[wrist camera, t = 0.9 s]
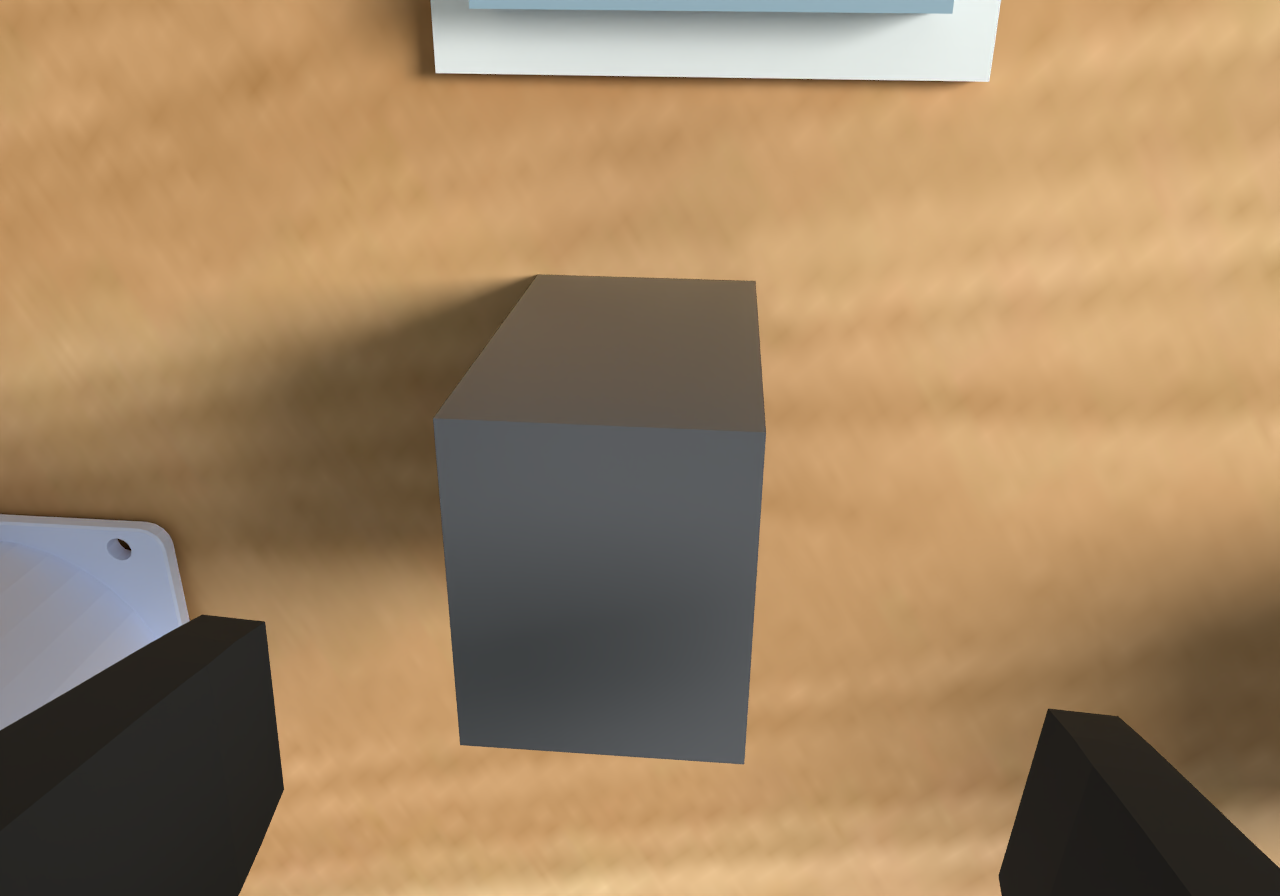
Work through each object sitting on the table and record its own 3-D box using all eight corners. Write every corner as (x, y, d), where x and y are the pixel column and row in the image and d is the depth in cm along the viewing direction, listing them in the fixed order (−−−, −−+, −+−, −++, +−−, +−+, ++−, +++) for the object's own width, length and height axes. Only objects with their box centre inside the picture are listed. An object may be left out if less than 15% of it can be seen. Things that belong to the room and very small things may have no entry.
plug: (546, 513, 20) (460, 745, 14) (537, 274, 18) (432, 418, 12) (741, 523, 20) (744, 763, 14) (755, 281, 18) (765, 432, 12)
